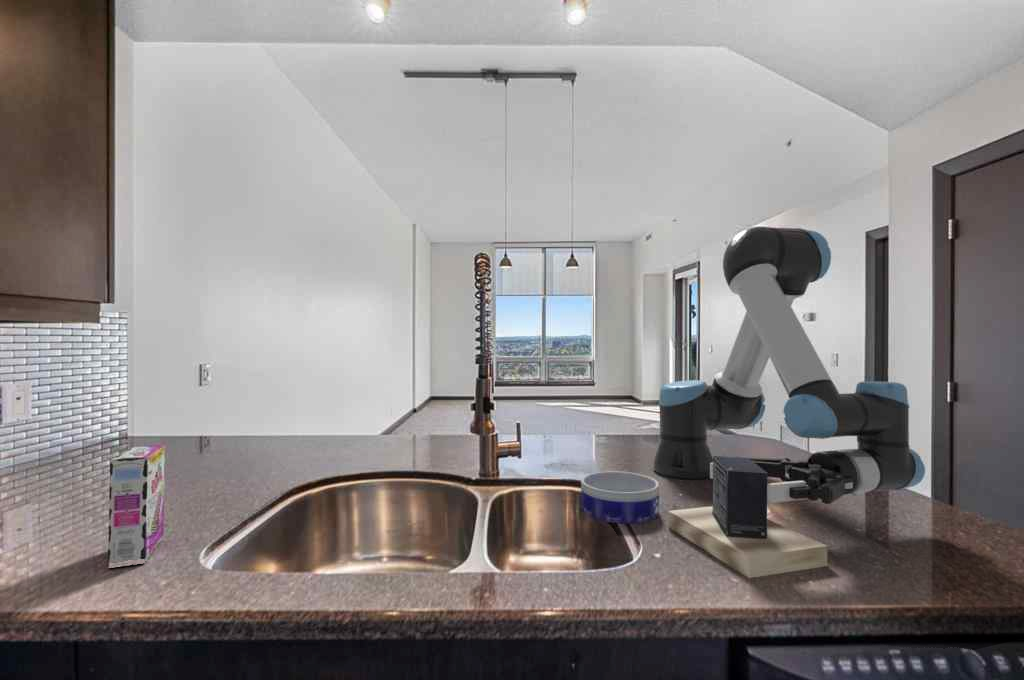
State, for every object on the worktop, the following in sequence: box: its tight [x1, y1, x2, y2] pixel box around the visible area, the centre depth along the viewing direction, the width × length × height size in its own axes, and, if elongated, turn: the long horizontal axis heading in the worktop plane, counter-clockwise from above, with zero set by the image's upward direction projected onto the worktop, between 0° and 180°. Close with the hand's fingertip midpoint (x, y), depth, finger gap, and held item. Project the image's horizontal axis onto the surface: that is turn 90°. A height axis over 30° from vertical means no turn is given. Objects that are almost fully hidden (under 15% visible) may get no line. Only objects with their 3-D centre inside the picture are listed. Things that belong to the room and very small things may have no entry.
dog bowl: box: [580, 470, 660, 525], centre depth 98 cm, size 15×15×6 cm
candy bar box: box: [107, 445, 166, 564], centre depth 79 cm, size 11×5×16 cm, turn 23°
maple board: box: [667, 505, 828, 579], centre depth 81 cm, size 20×14×3 cm
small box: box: [712, 455, 768, 538], centre depth 81 cm, size 11×6×10 cm, turn 169°
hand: (737, 481), depth 81 cm, fingers open, 13 cm apart
